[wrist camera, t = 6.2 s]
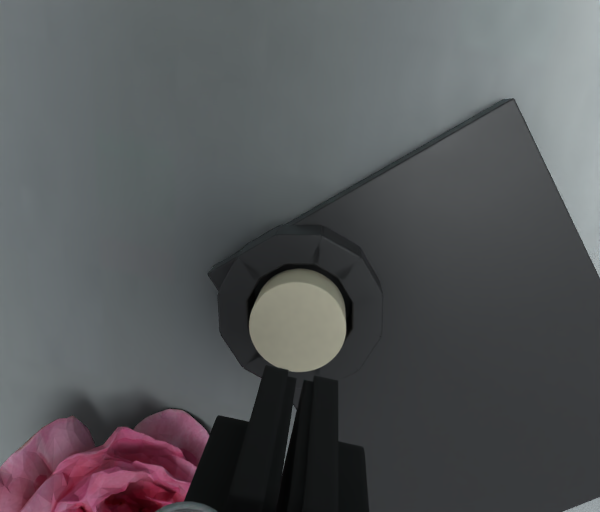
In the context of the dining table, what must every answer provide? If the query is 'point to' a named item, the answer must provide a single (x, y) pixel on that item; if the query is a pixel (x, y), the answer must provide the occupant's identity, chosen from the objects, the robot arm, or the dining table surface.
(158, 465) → the flower
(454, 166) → the scale
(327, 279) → the button
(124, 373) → the dining table surface
